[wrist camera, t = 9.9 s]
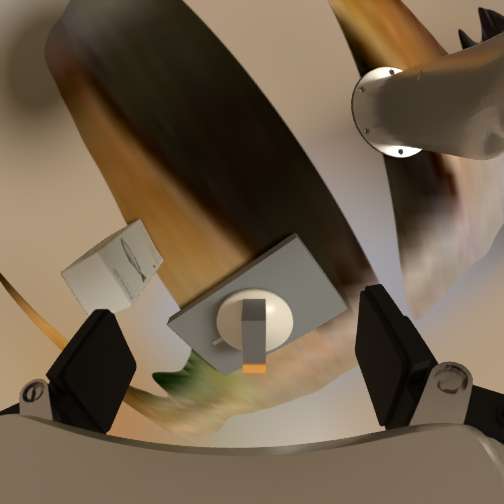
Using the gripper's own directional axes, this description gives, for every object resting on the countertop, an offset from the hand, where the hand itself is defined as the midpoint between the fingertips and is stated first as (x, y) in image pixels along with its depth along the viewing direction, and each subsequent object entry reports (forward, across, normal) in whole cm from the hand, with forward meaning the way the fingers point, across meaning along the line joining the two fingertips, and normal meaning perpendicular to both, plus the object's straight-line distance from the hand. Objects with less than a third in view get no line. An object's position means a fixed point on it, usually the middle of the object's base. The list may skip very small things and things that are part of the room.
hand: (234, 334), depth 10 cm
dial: (+26, +2, +18) cm, 32 cm away
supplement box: (+29, +18, +6) cm, 35 cm away
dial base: (+28, +2, +18) cm, 34 cm away
